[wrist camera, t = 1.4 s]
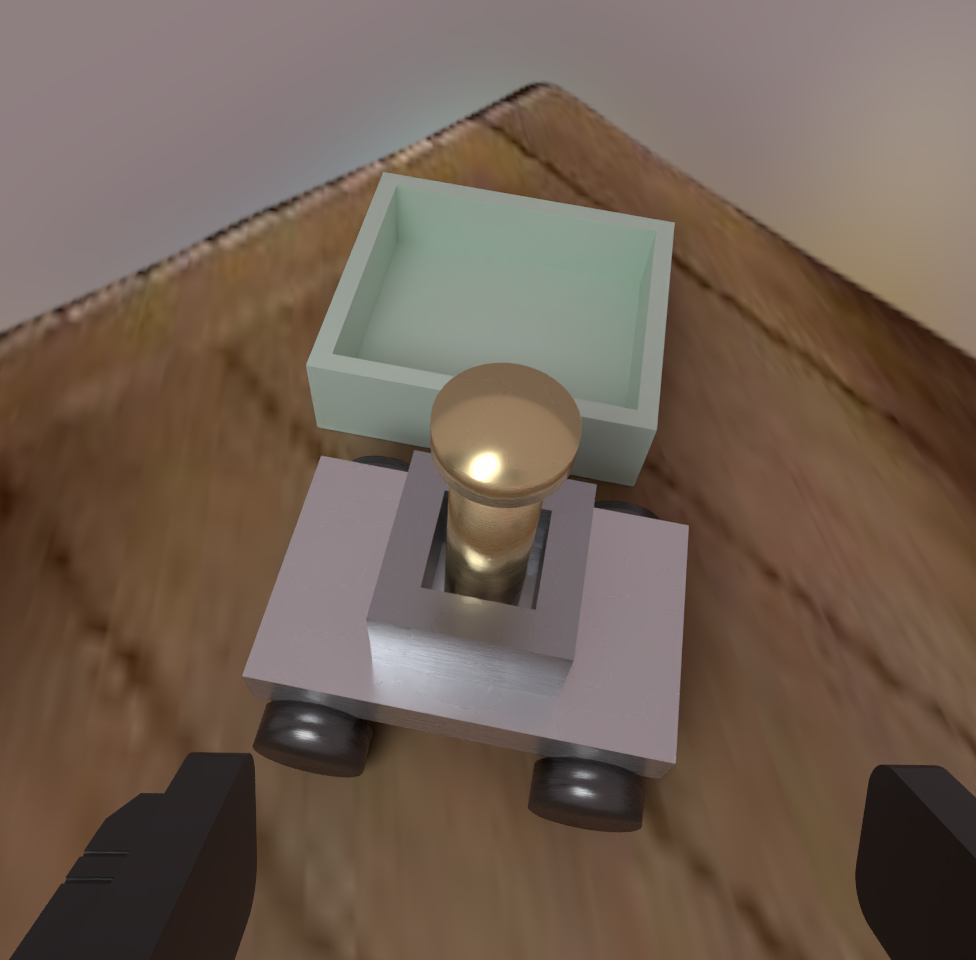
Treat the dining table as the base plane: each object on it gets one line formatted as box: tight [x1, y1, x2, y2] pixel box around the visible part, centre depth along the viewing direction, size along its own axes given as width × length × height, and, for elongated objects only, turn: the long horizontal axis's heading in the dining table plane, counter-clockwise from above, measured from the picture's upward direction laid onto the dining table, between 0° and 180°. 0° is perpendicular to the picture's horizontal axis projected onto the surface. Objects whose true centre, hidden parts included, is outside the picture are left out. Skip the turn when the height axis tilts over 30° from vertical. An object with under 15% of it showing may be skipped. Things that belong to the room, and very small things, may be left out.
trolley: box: [242, 450, 689, 832], centre depth 33 cm, size 16×13×10 cm
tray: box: [306, 172, 675, 487], centre depth 45 cm, size 17×15×5 cm
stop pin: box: [430, 363, 582, 606], centre depth 27 cm, size 4×4×12 cm
